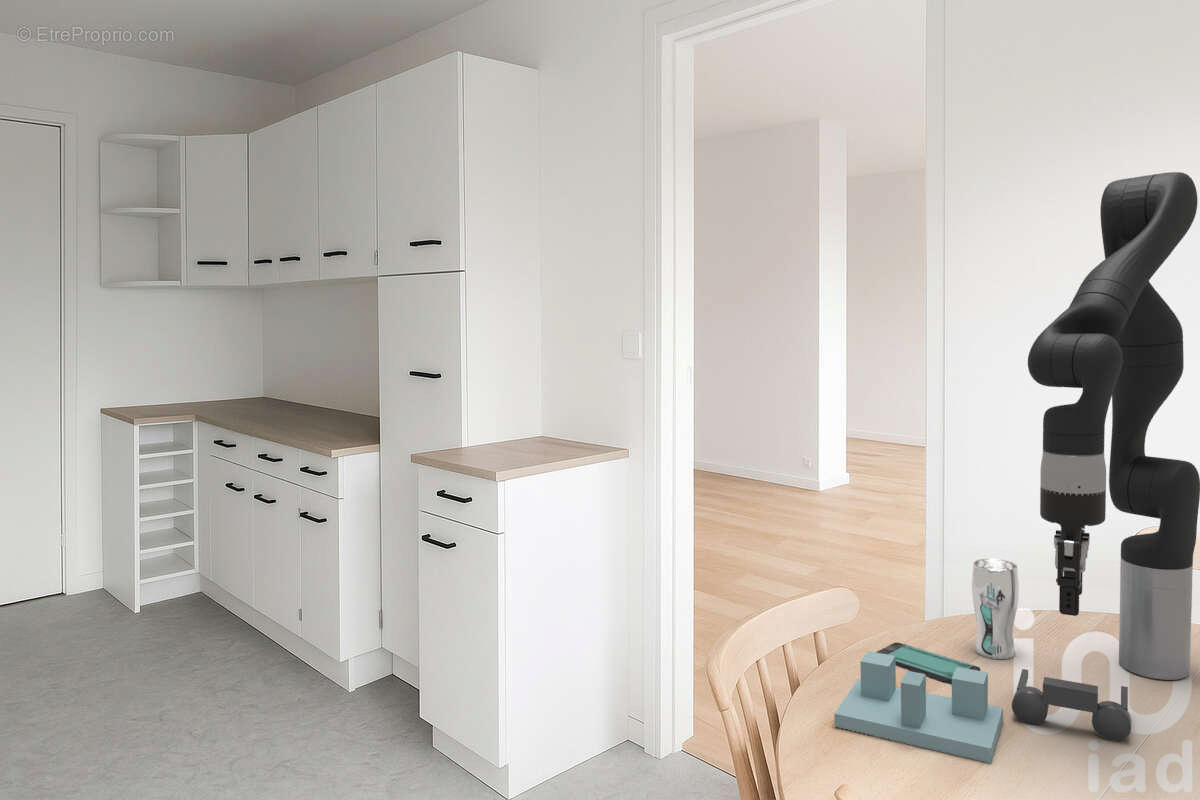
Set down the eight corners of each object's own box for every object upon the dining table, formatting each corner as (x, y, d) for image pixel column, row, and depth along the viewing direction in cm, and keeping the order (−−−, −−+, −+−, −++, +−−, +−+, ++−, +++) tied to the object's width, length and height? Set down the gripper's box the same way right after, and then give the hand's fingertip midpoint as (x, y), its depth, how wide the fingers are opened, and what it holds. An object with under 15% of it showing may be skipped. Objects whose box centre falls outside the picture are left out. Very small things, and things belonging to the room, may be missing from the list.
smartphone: (896, 640, 142) (981, 666, 130) (896, 647, 142) (981, 674, 130) (871, 653, 137) (957, 681, 125) (871, 660, 137) (957, 689, 126)
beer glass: (1023, 661, 133) (1024, 571, 131) (977, 660, 134) (977, 571, 133) (1011, 644, 140) (1011, 558, 138) (967, 642, 141) (967, 557, 140)
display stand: (858, 691, 126) (857, 641, 125) (1003, 721, 115) (1003, 666, 114) (834, 727, 116) (833, 672, 115) (990, 763, 105) (990, 703, 104)
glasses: (1019, 692, 123) (1019, 652, 122) (1130, 713, 115) (1131, 671, 115) (1011, 720, 115) (1011, 678, 114) (1130, 744, 107) (1131, 699, 107)
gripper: (1104, 499, 101) (1102, 626, 102) (1107, 476, 112) (1105, 591, 114) (1035, 494, 105) (1034, 617, 106) (1045, 472, 117) (1044, 583, 118)
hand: (1071, 603), depth 110 cm, fingers open, 8 cm apart
